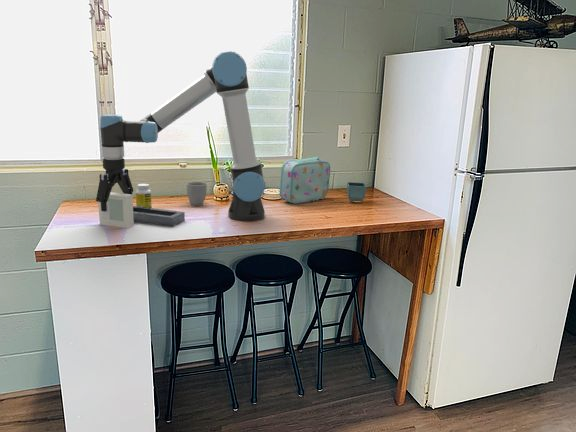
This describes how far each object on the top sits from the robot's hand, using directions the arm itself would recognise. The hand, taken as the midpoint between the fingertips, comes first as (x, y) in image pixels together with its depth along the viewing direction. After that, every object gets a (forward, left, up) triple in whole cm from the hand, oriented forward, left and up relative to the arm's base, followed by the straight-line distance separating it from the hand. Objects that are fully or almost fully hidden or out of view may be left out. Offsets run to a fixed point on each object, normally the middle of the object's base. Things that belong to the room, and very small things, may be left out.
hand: (116, 215), depth 177 cm
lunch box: (-55, -71, -4) cm, 90 cm away
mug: (-11, -43, -4) cm, 44 cm away
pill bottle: (+3, -23, -4) cm, 23 cm away
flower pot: (-79, -79, -4) cm, 112 cm away
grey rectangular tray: (-8, -11, -4) cm, 14 cm away
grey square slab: (0, 0, -4) cm, 4 cm away
